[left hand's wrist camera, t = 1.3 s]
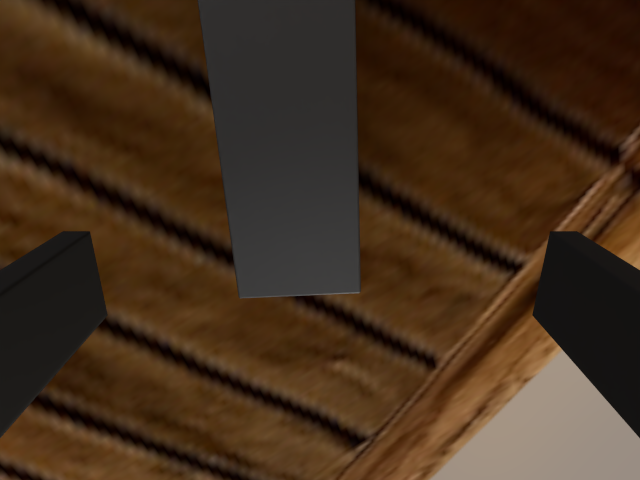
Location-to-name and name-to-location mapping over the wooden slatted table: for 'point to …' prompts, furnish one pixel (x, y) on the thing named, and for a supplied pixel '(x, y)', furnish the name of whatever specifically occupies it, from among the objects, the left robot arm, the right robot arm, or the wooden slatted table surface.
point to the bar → (287, 141)
